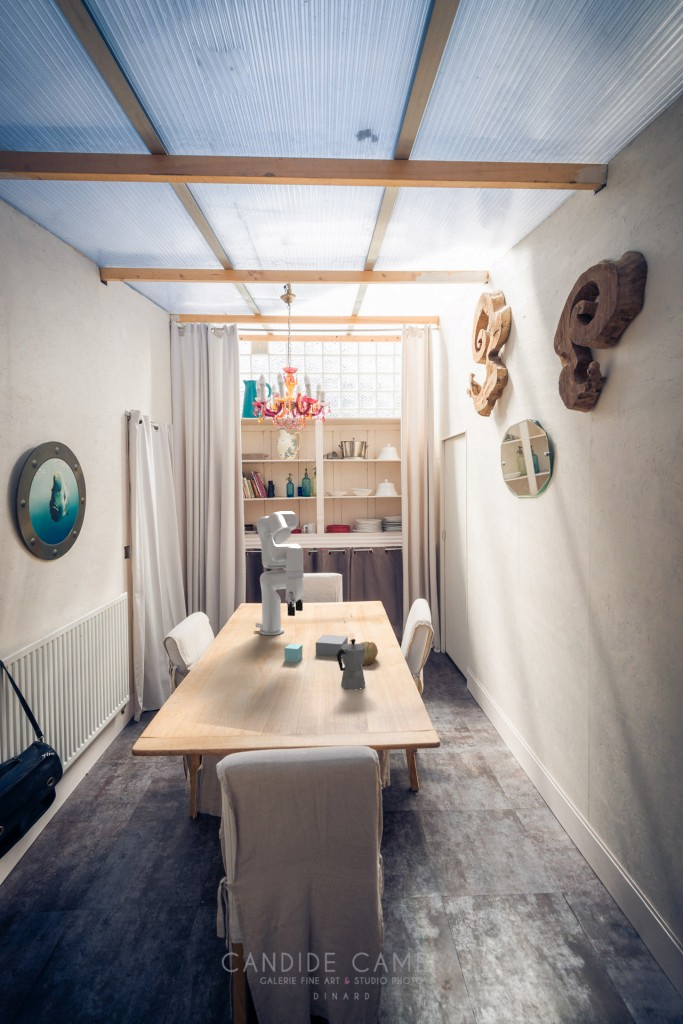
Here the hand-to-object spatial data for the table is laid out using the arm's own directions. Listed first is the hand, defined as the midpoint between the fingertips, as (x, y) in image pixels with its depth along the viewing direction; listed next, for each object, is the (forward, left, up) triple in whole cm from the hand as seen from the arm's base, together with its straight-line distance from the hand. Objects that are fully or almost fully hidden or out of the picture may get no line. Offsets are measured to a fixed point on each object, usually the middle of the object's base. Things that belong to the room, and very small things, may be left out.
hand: (295, 613), depth 233 cm
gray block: (+13, +13, -20) cm, 27 cm away
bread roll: (+31, +6, -21) cm, 37 cm away
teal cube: (0, -2, -20) cm, 20 cm away
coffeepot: (+32, -24, -20) cm, 45 cm away
